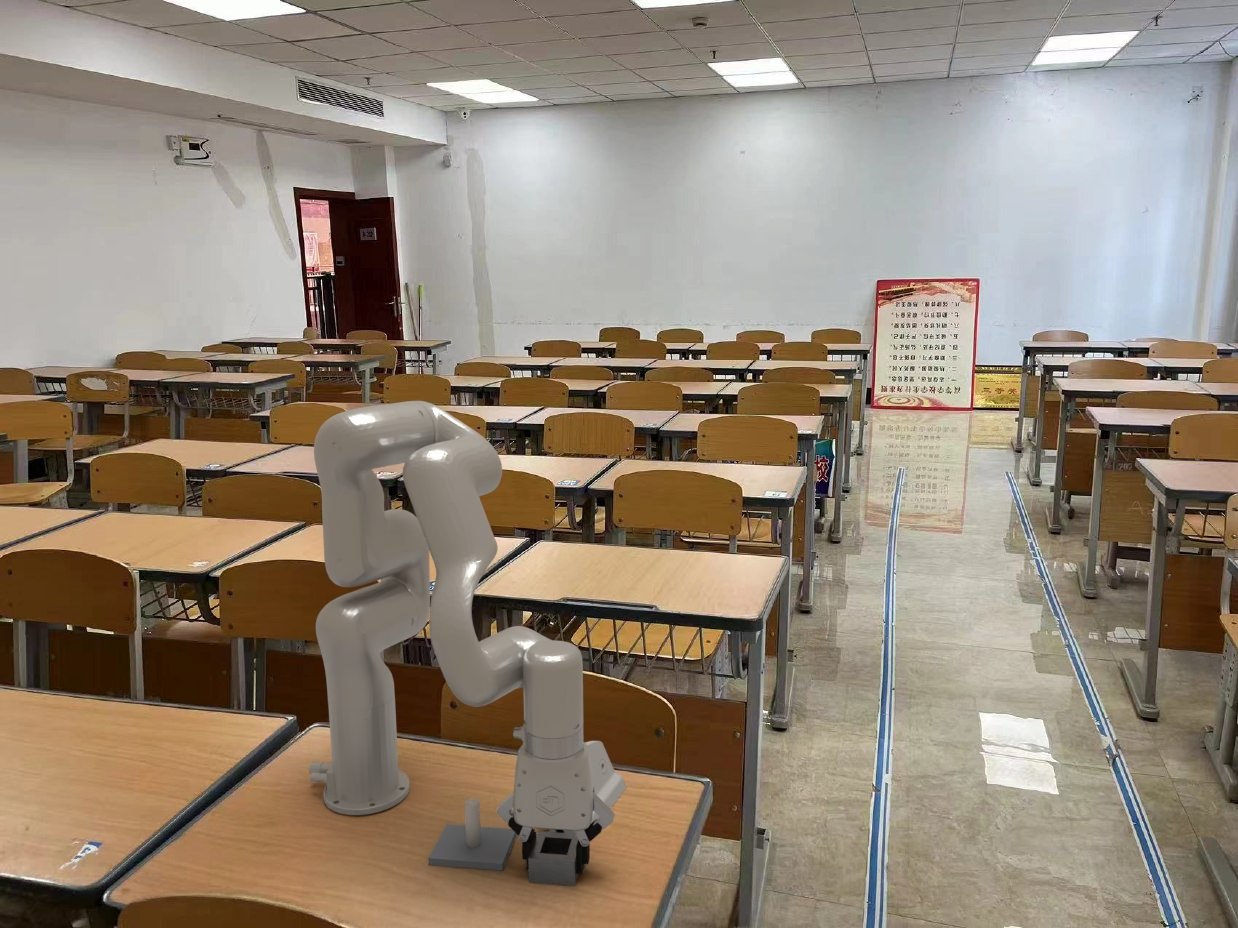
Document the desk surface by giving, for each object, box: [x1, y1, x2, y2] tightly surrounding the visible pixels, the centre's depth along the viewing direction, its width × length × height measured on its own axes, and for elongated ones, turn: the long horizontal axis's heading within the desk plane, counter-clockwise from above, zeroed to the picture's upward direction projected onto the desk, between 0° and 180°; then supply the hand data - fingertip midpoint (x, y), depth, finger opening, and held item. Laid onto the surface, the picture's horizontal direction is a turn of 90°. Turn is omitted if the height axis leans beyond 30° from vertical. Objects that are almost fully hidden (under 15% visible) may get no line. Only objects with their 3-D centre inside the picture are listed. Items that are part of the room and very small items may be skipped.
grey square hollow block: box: [528, 830, 579, 887], centre depth 122 cm, size 6×6×4 cm
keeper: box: [428, 798, 518, 872], centre depth 126 cm, size 10×8×7 cm
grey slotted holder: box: [548, 740, 627, 834], centre depth 136 cm, size 17×5×10 cm, turn 158°
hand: (556, 864), depth 122 cm, fingers closed on grey square hollow block, 6 cm apart
